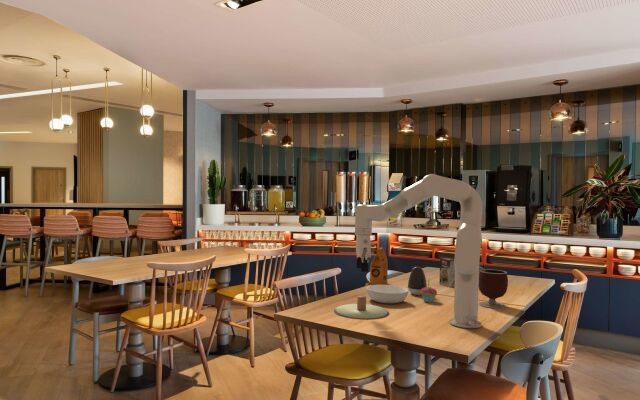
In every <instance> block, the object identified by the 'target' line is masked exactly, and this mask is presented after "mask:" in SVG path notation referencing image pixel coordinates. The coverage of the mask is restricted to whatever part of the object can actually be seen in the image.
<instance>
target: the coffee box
mask: <svg viewBox="0 0 640 400" xmlns="http://www.w3.org/2000/svg"><path fill="white" fill-rule="evenodd" d="M454 259H455V258H454ZM454 259H453V258H448V257H443V258H441V257H440V258H439V283H438V284H439V285H442V286H445V287H447V288H455V265H454Z"/></svg>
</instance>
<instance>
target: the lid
mask: <svg viewBox="0 0 640 400" xmlns="http://www.w3.org/2000/svg"><path fill="white" fill-rule="evenodd" d="M356 302H357V303H350V304H349V303H348V304H347V303H346V304H342V305H339V306H337V307H336V308H335V309H336V313H337V314H339V315H342V316H345V317H349V318H348V319H351V318H357V319H356V320H361V319H372V320H376V319H375V318H381V317H384V316H386V315H387V311H388V310H387V308H384V307H382V306H379V305H375V304H367V296H366V295H357V299H356ZM337 314H336V315H337ZM339 315H338V316H339ZM345 317H344V318H345ZM381 319H382V318H381Z"/></svg>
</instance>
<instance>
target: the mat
mask: <svg viewBox="0 0 640 400" xmlns="http://www.w3.org/2000/svg"><path fill="white" fill-rule="evenodd" d="M333 313H334V314H335V315H336V316H339V317H341V318H346V319H353V320H358V319H357V318H349V317H345V316H342V315H339V314H337V313H336V308H335V309H334V310H333ZM389 316H390V312H389V311H388V310H387V315H386V316H384V317H381V318H375V319H374V320H379V319H385V318H388V317H389ZM360 320H362V321H363V320H369V321H370V320H373V319H360Z"/></svg>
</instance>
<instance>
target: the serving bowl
mask: <svg viewBox="0 0 640 400" xmlns="http://www.w3.org/2000/svg"><path fill="white" fill-rule="evenodd" d="M366 294H367V295H368V297H369V299H371V300H372V301H374V302H376V303H381V304H397V303H401V302H403V301H405V300H406V298H407V297H408V294H409V289H408V288H406V287H403V286H400V285H394V284H393V285H391V284H386V285H371V284H370V285H368V286H366Z"/></svg>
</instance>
